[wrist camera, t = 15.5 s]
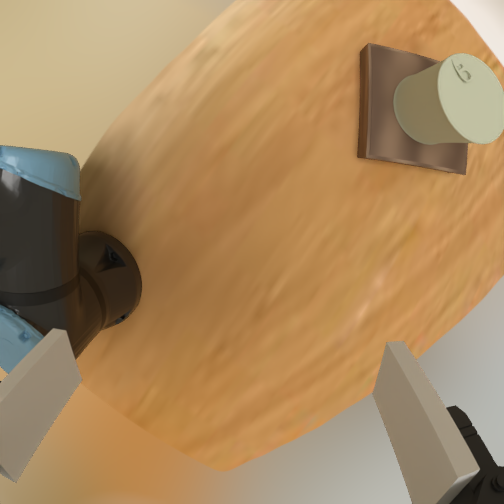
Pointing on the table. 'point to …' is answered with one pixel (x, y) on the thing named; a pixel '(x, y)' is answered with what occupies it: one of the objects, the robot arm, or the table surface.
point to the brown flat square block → (384, 119)
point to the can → (451, 102)
